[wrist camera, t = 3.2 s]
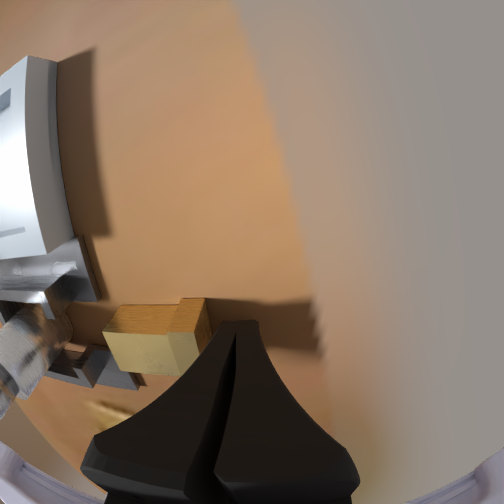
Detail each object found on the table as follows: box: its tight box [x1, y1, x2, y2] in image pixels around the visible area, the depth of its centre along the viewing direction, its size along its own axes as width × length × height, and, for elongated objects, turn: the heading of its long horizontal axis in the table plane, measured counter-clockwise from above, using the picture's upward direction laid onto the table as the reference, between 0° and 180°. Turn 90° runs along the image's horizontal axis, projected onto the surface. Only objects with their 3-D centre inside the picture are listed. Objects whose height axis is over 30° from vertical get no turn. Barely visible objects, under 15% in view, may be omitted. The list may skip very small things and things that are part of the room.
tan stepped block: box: [102, 298, 213, 376], centre depth 10 cm, size 3×4×2 cm
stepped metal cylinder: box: [0, 303, 73, 420], centre depth 9 cm, size 3×3×7 cm
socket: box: [0, 235, 140, 391], centre depth 11 cm, size 9×9×2 cm
